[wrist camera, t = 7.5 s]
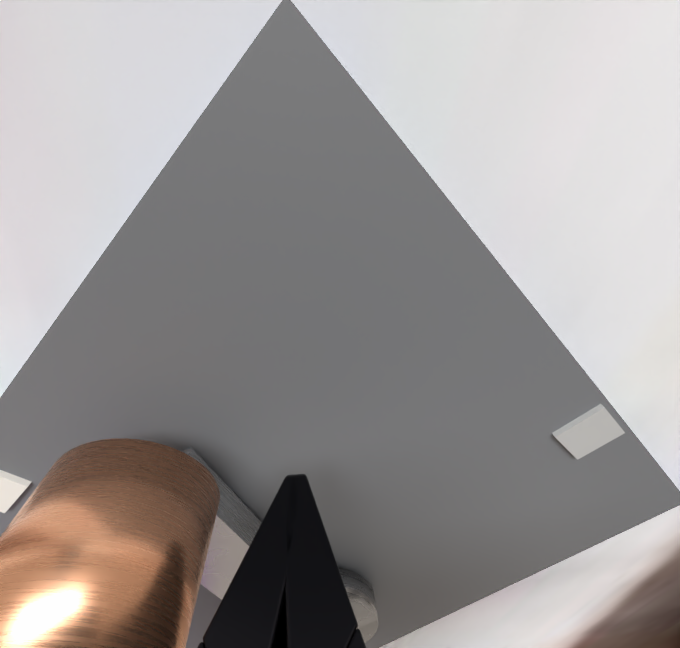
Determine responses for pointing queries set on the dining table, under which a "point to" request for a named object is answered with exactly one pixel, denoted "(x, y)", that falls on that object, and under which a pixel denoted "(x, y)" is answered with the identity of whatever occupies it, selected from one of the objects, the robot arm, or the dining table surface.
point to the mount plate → (333, 352)
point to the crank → (127, 550)
